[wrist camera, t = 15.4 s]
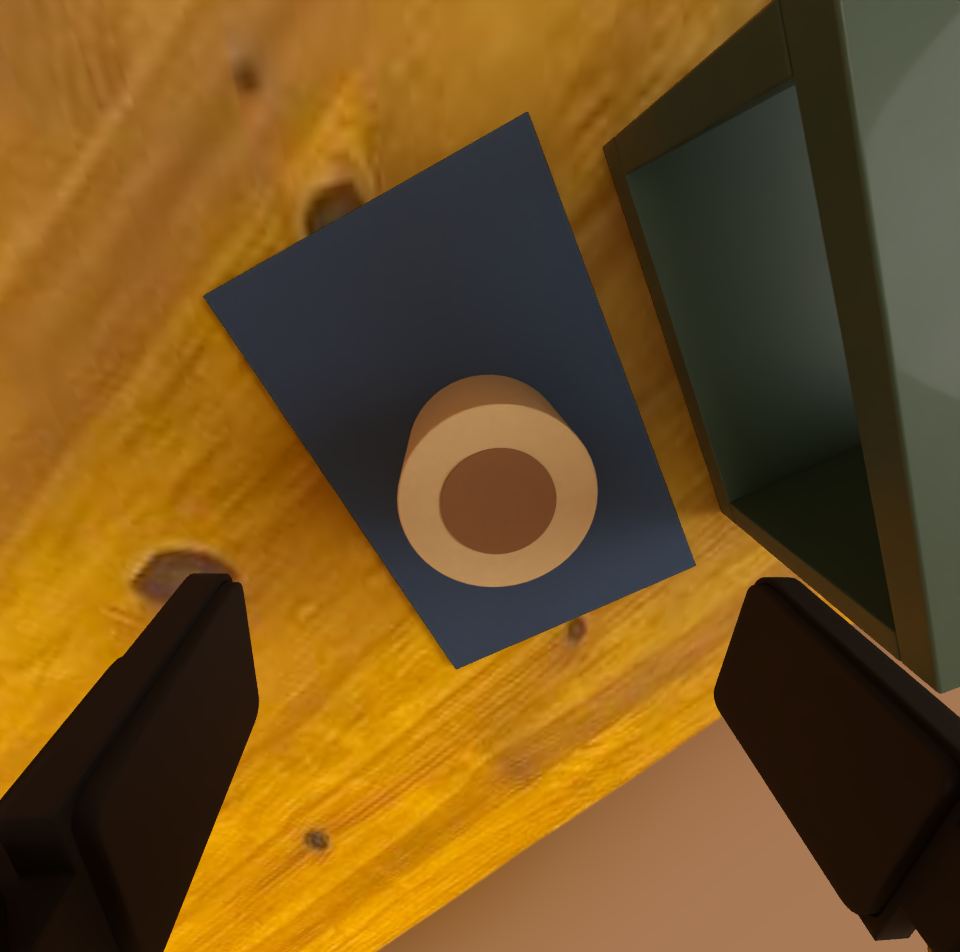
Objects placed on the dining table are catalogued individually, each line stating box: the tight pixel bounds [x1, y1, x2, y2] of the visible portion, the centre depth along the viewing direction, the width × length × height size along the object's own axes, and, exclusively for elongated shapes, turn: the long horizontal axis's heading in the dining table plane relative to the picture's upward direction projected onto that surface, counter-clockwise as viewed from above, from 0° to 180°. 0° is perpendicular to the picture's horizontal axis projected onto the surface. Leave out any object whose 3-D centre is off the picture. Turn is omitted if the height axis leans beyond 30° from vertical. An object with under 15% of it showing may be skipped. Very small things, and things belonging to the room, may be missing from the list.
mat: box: [203, 112, 696, 669], centre depth 21 cm, size 13×20×1 cm, turn 26°
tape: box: [397, 375, 598, 587], centre depth 18 cm, size 7×7×5 cm
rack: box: [603, 0, 960, 693], centre depth 14 cm, size 12×16×11 cm
